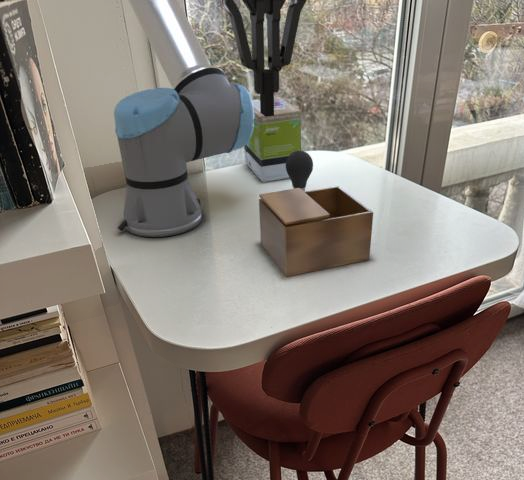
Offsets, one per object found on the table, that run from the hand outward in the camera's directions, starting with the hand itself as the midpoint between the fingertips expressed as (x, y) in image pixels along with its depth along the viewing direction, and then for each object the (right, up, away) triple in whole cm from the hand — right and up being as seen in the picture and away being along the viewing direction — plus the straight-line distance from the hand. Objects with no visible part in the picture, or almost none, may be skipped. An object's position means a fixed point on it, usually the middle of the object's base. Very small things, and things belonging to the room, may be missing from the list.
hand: (267, 114), depth 91 cm
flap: (+4, -16, -1) cm, 16 cm away
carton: (+8, -22, +5) cm, 24 cm away
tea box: (+2, +4, +41) cm, 41 cm away
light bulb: (+7, -7, +25) cm, 27 cm away
